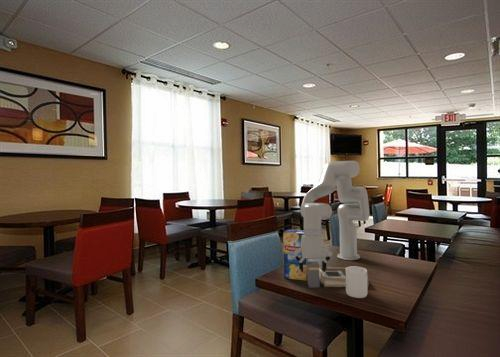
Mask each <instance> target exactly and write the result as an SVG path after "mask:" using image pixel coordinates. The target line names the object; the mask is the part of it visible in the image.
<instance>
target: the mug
mask: <svg viewBox="0 0 500 357" xmlns="http://www.w3.org/2000/svg"><path fill="white" fill-rule="evenodd" d="M345 268H346V287H345V291H346V292H345V293H346V295H347V296H349V297H351V298H355V299H364V298H366V297H367V295H368V287H367V277H368V269H367V268H365V267H362V266H355V265H353V266H347V267H345Z"/></svg>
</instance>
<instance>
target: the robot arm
mask: <svg viewBox="0 0 500 357" xmlns="http://www.w3.org/2000/svg"><path fill="white" fill-rule="evenodd" d="M360 170H361V169H360V163H359V162H358V161H357V160H339V161H338V160H337V161H329V162H327V163H325V164H324V166H323V168H322V171H321V174H320V177H319V179H318V184H316V185H314V186H313V187H312V188H311V189H310V190H309V191H308V192H306V193H305V195H304V197H303V199H302V203H301V205H300V214H301V217H303V231H304V235H302V238H301V248H300V249H298V250H296V251H294V252H293V254H294V256H295V258H296V259H297V260H298V261H299V269H301V272H303V262H302V261H303V260H304V259H309V260H310V259H312V260H313V259H314V260H316V259H318V260H319V259H320V260H322V262H321V268H322V270H323V272H325V270H326V268H327V263H328V262H329V261H330V259H331V258H332V256H333V252H332V251H331V250H329V249H327V248H325V243H324V242H325V241H324V237H323V235H322V234H325V230H324V229H322V220H328V219H330V218H331V217H332V214H333V208H332V206H331V205H330V204H328V203H325V202H324V203H323V202H315V201H316V200H318V199H320V198H323V197H326V196H328V195H331V194H332V193H334V192H335V190H336V193H337V198H338V201H339V202H340V203H341V204H339V206H338V207H337V217H338V221H339V224H338V225H339V226H338V227H339V253H337V256H336V257H337V258H339V259H341V260H345V261H357V260H360V258H361V256H360V254H358V239H357V238H358V236H357V226H356V224H355V222H356V221H358V222H359V221H360V222H366V221H368V220H369V219H370V205H369V196H368V191H367V189H366V188H365V187H363V186H354V185H353V182H352V178H355V177H357V176H358V175H359V173H360ZM354 221H355V222H354ZM300 252H301V257H300V258H299V257H298V256H297V254H298V253H300ZM325 253H326V254H327V256H325V255H326V254H325Z"/></svg>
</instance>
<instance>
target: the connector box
mask: <svg viewBox="0 0 500 357" xmlns="http://www.w3.org/2000/svg"><path fill="white" fill-rule="evenodd" d="M319 281H321V284H322V285H323V286H324V288H346V267H326V270H325V272H323V270H322V267H319ZM369 283H370V282H369V276H367V288H369V286H370V284H369Z"/></svg>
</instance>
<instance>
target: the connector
mask: <svg viewBox="0 0 500 357" xmlns="http://www.w3.org/2000/svg"><path fill="white" fill-rule="evenodd" d="M319 268H320V263H319V262H318V261H309V262H307V285H308V288H320V287H321V286H320V278H319Z"/></svg>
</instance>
